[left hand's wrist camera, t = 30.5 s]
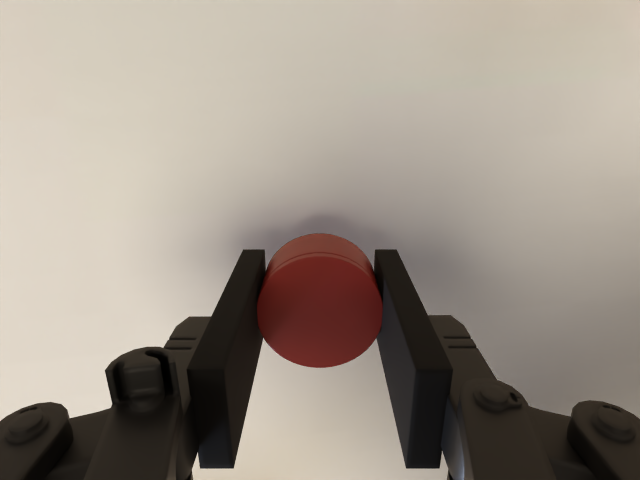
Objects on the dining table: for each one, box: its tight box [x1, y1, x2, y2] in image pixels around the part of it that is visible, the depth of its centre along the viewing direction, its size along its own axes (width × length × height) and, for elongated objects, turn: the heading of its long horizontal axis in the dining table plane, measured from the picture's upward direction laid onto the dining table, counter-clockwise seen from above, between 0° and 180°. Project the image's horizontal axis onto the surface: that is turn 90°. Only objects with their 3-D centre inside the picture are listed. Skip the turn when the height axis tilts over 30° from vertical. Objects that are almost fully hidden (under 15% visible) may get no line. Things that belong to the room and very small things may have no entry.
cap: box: [257, 234, 383, 368], centre depth 14 cm, size 4×4×2 cm
